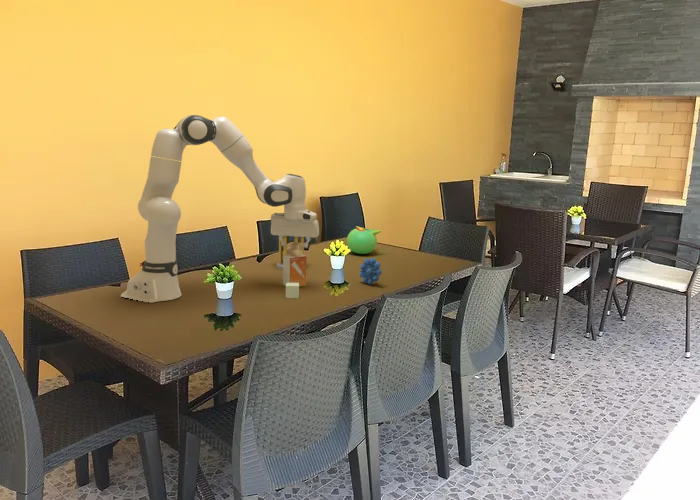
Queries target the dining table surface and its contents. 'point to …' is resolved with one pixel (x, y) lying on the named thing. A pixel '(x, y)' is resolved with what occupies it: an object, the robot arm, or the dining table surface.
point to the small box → (294, 270)
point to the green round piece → (362, 240)
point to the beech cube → (294, 249)
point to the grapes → (370, 271)
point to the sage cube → (292, 290)
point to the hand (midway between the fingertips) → (294, 246)
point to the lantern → (286, 239)
